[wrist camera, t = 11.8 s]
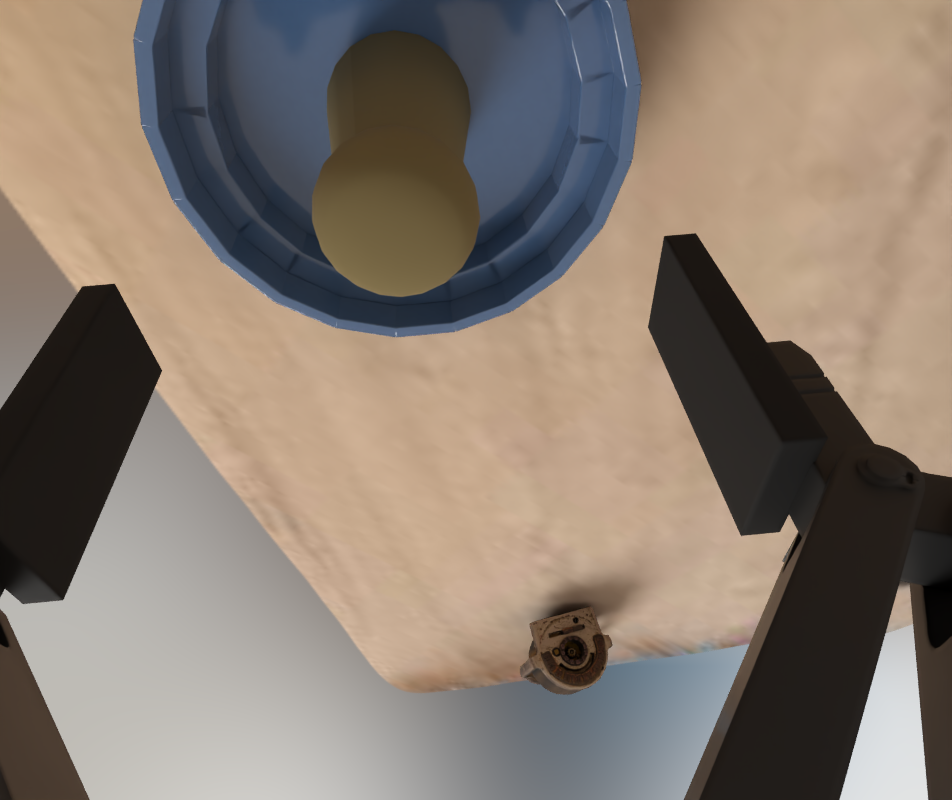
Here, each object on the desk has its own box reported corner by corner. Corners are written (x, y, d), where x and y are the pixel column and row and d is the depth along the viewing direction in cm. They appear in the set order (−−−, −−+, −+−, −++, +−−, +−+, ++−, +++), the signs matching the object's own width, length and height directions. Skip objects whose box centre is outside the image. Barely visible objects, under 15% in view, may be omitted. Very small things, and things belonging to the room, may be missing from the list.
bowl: (83, -166, 20) (21, -161, 17) (635, -207, 21) (678, -210, 17) (252, 299, 33) (235, 352, 30) (593, 268, 33) (613, 317, 30)
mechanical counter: (654, 663, 56) (568, 675, 51) (583, 729, 63) (501, 745, 58) (617, 594, 61) (535, 599, 56) (554, 661, 68) (476, 671, 63)
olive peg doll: (487, 156, 28) (520, 295, 20) (362, 197, 29) (344, 347, 21) (444, 7, 24) (463, 107, 16) (299, 60, 25) (249, 181, 17)
